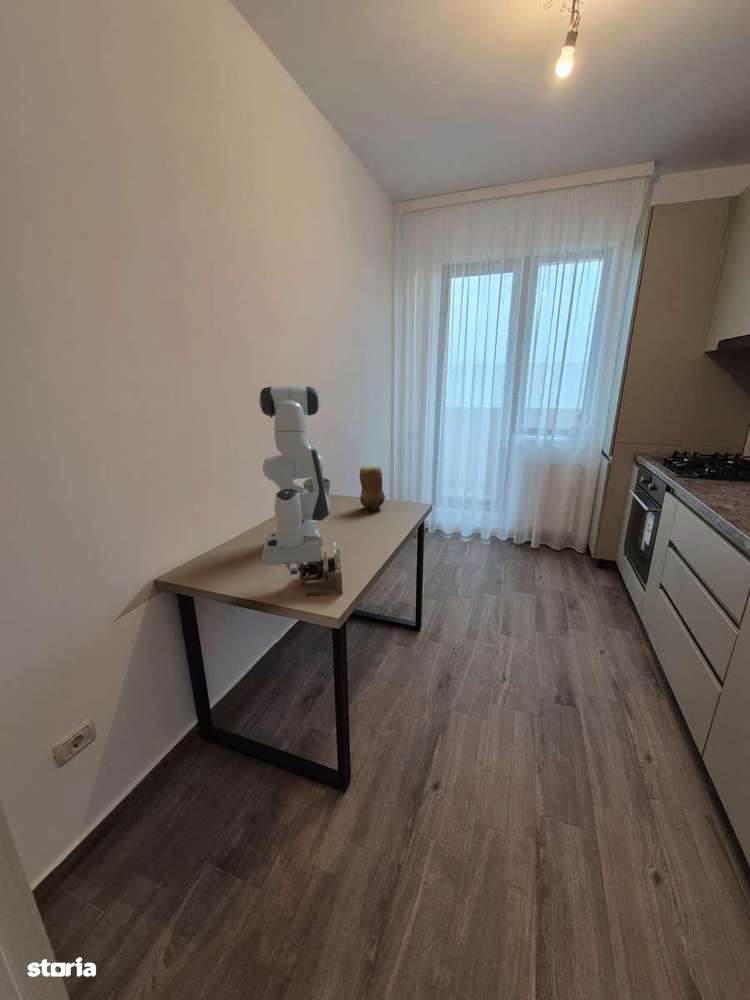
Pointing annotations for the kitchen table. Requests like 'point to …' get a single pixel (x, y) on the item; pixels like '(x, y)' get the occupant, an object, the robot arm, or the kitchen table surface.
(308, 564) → the pottery mug
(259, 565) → the kitchen table surface
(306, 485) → the plant pot
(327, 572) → the grey flat panel
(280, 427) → the robot arm
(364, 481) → the butternut squash
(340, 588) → the stand
